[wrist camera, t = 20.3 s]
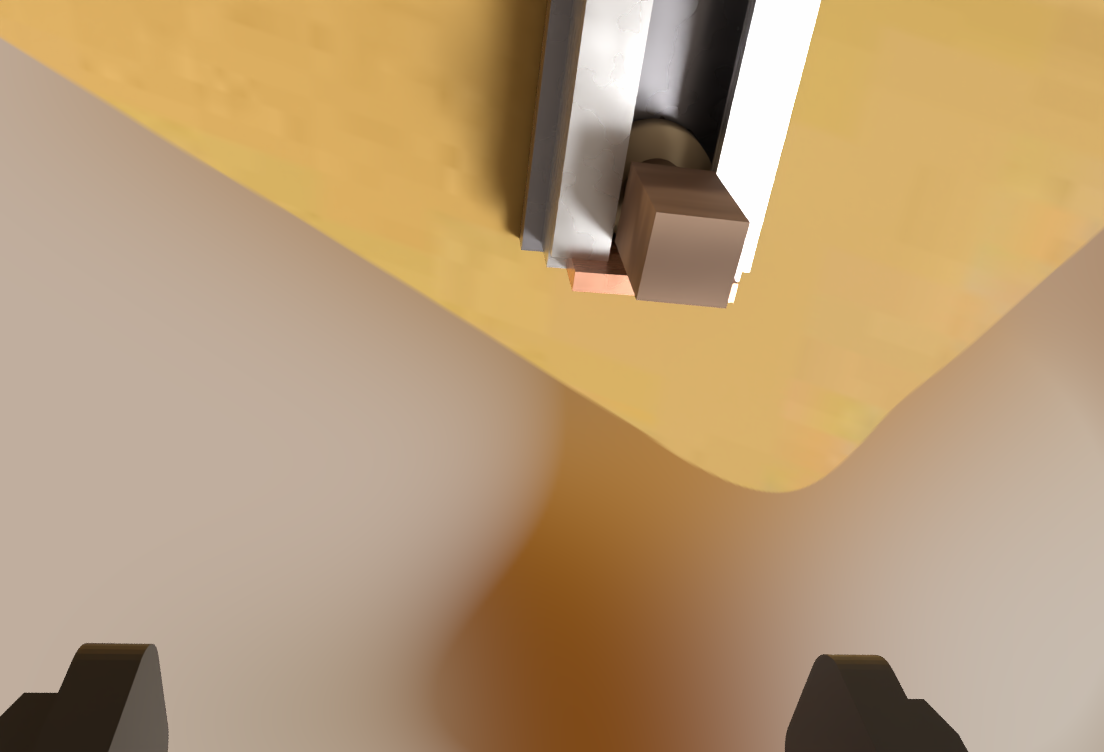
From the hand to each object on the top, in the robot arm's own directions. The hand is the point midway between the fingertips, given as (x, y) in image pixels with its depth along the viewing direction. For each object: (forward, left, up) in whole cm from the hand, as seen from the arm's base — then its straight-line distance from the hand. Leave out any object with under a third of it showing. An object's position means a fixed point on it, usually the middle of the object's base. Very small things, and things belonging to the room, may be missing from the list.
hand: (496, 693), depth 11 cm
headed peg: (+5, +10, -37) cm, 38 cm away
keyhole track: (-2, +10, -38) cm, 39 cm away
